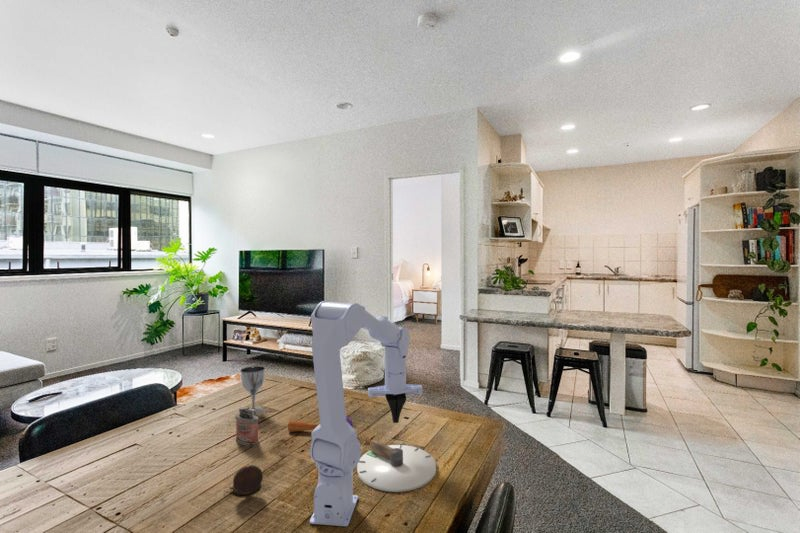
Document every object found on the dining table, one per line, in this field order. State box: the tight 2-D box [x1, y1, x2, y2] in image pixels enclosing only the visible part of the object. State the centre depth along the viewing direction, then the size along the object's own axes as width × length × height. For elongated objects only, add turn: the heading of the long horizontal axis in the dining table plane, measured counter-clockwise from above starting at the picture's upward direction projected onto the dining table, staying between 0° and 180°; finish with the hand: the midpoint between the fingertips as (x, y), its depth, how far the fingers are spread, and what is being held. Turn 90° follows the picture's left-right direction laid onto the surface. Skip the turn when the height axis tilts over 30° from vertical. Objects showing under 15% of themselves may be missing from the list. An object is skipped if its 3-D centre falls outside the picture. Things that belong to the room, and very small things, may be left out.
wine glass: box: [240, 365, 266, 416], centre depth 134 cm, size 8×8×15 cm
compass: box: [223, 463, 263, 496], centre depth 89 cm, size 8×8×7 cm
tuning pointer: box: [369, 439, 403, 466], centre depth 100 cm, size 11×3×3 cm, turn 49°
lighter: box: [234, 406, 260, 447], centre depth 112 cm, size 8×3×10 cm, turn 62°
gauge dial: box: [356, 444, 437, 493], centre depth 98 cm, size 20×20×1 cm
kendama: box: [287, 415, 354, 433], centre depth 117 cm, size 6×6×20 cm
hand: (395, 421), depth 104 cm, fingers closed
